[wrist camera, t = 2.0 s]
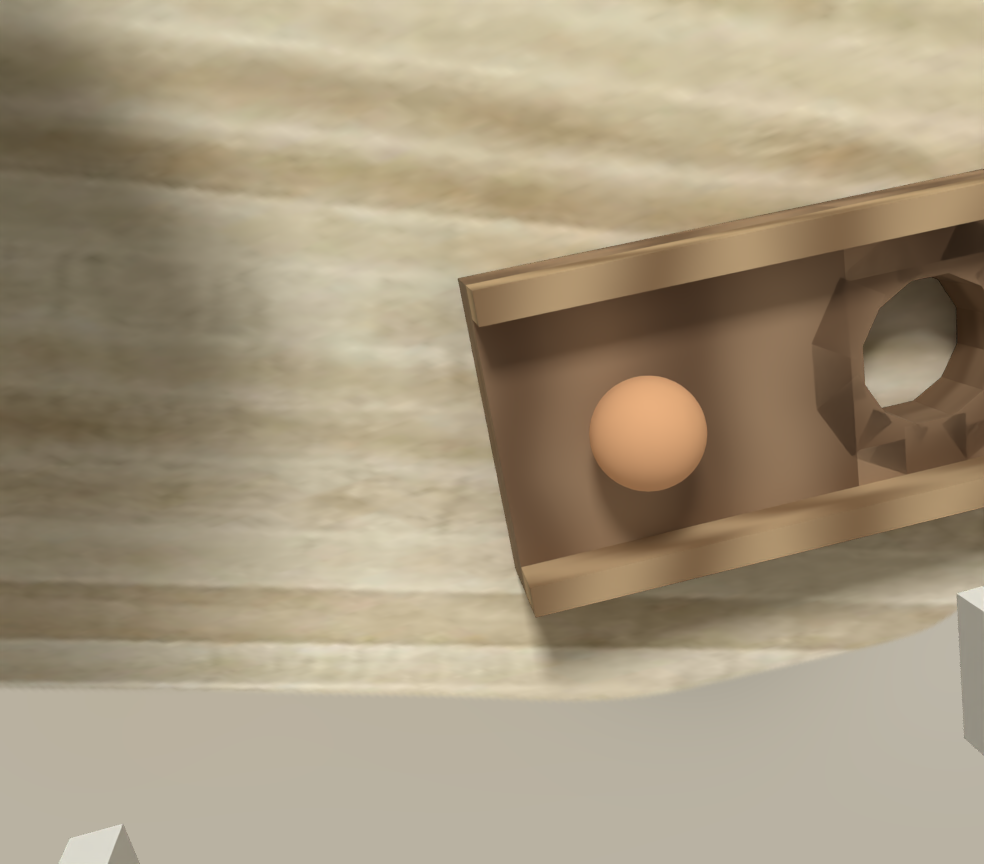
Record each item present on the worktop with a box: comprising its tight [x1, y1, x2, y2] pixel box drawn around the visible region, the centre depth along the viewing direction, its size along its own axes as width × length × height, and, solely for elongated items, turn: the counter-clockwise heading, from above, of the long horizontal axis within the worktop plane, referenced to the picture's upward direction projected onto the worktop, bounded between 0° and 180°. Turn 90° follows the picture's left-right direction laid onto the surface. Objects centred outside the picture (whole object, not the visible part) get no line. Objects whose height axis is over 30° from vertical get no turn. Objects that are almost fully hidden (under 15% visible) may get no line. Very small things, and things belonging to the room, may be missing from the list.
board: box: [458, 169, 984, 617], centre depth 32 cm, size 24×12×4 cm, turn 101°
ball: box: [589, 376, 707, 492], centre depth 29 cm, size 4×4×4 cm
